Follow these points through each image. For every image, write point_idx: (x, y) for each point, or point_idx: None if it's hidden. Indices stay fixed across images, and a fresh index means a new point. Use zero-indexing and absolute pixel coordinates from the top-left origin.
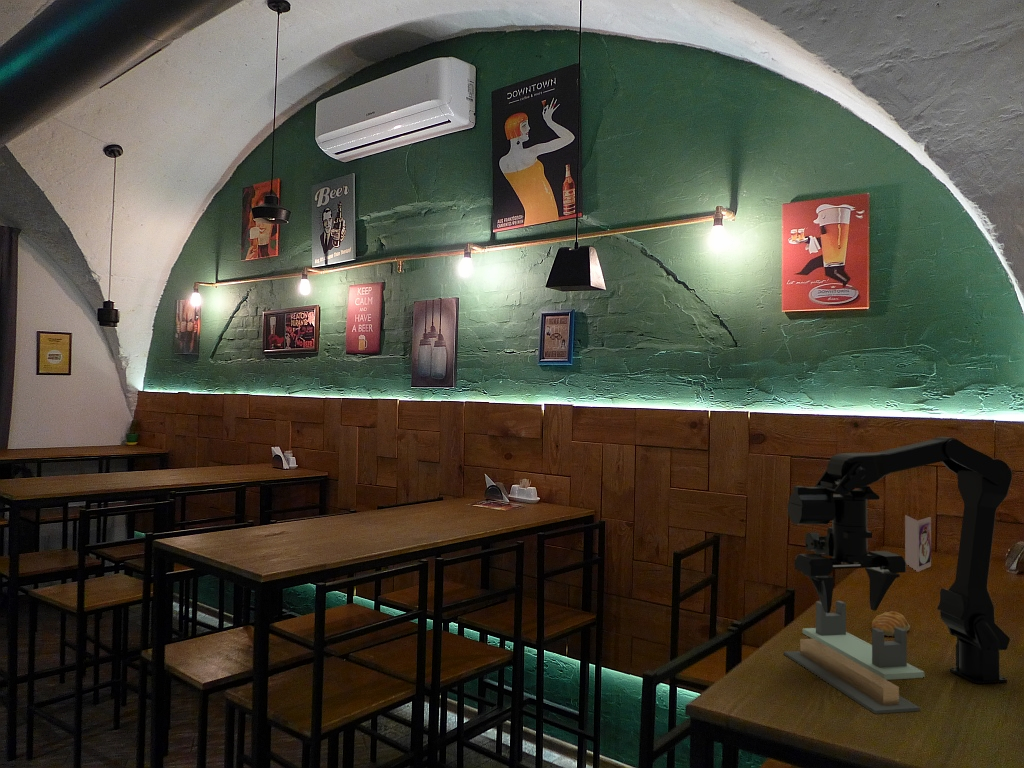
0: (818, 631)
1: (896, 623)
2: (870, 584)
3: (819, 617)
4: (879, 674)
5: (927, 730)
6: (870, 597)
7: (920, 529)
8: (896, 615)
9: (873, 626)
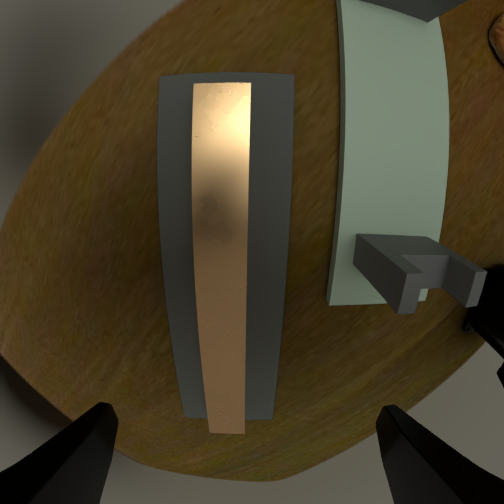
0: None
1: None
2: (449, 498)
3: None
4: (329, 284)
5: (231, 448)
6: (407, 450)
7: None
8: None
9: (498, 33)
